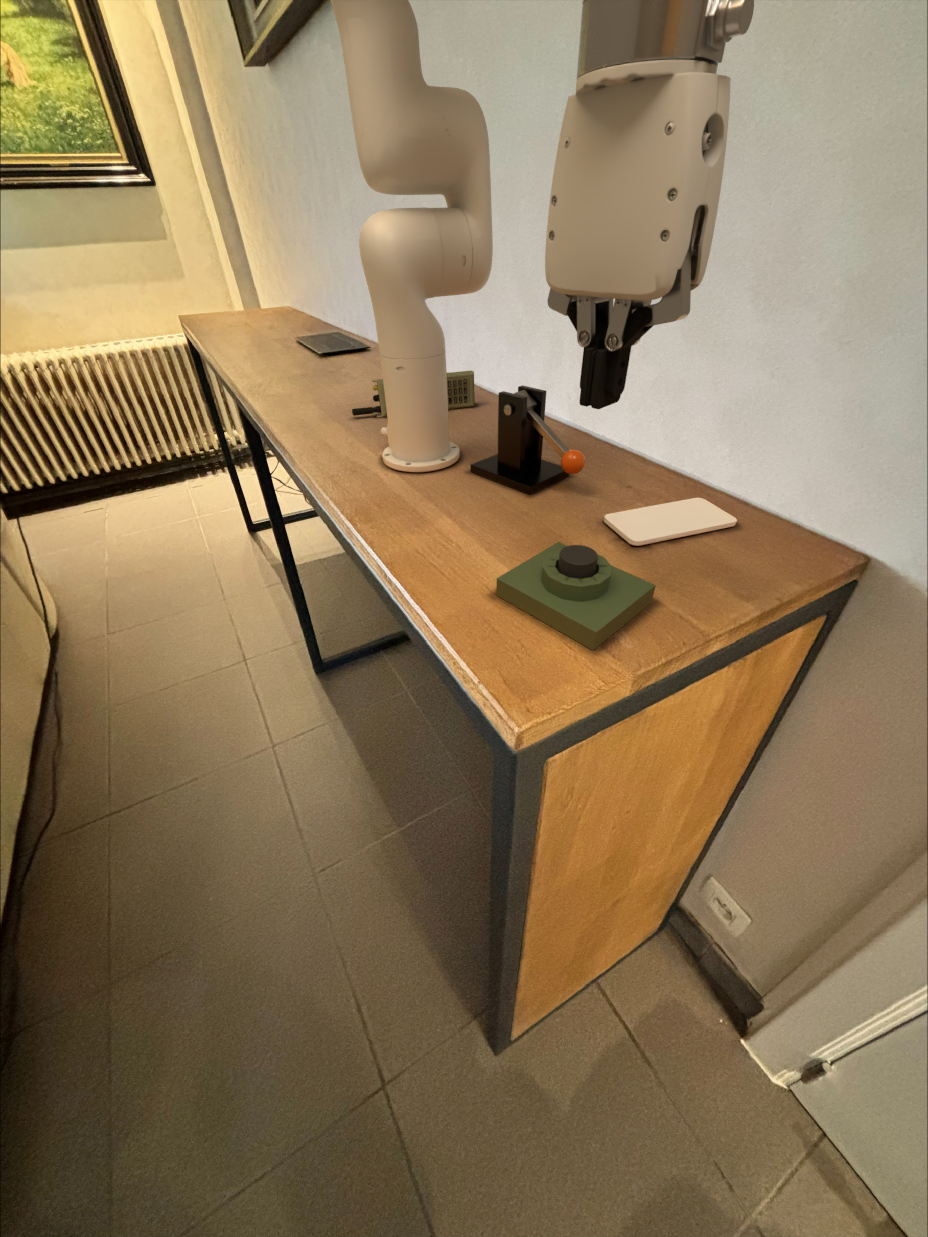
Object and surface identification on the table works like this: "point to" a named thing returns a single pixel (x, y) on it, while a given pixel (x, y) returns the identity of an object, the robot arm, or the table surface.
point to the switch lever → (554, 439)
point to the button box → (575, 596)
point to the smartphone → (668, 521)
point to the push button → (577, 561)
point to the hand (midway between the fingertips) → (599, 402)
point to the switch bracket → (519, 447)
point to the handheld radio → (457, 391)
